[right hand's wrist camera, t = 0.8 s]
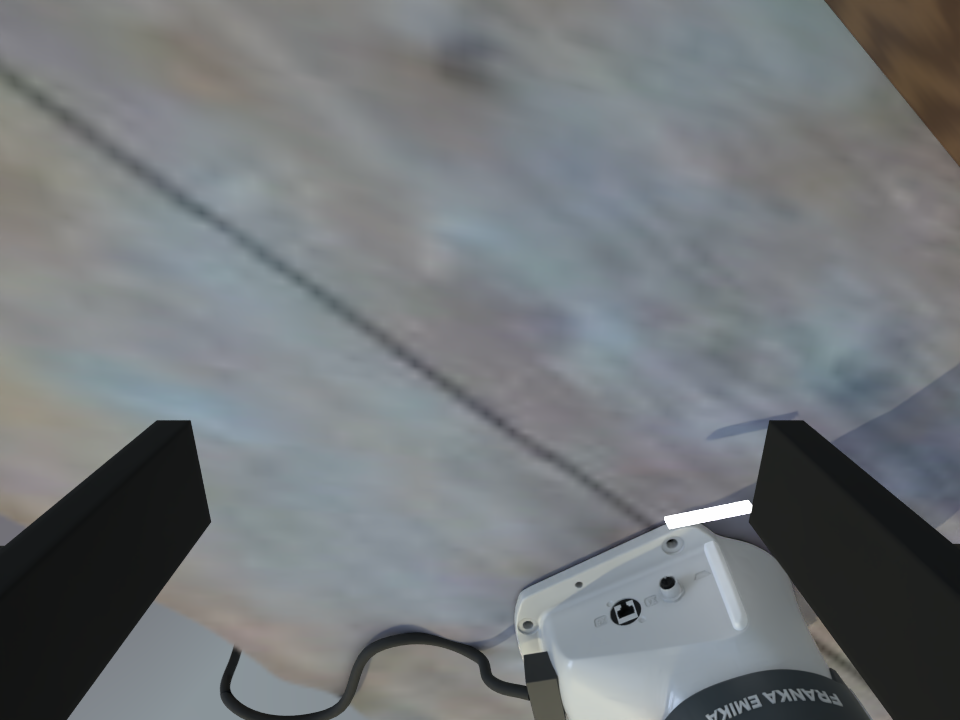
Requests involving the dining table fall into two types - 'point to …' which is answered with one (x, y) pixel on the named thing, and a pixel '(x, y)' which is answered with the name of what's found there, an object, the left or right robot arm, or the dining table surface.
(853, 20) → the post
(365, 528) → the dining table surface
